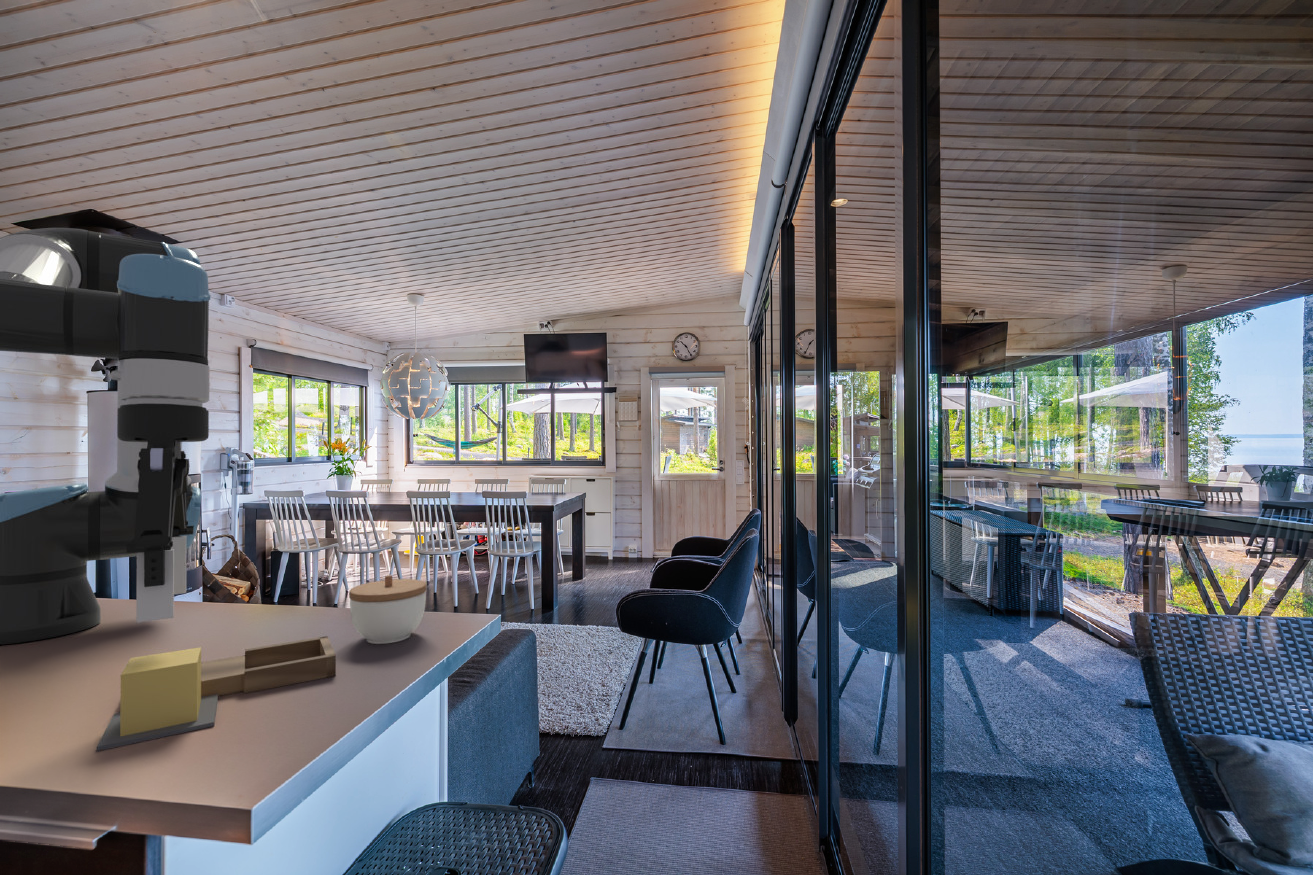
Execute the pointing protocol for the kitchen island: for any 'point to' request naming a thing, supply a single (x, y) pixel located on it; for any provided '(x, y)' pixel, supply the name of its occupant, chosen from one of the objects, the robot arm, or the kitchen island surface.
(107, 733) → the mat
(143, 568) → the robot arm
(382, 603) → the lidded jar
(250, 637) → the kitchen island surface
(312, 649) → the brown tray
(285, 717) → the kitchen island surface
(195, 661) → the block
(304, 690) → the kitchen island surface
